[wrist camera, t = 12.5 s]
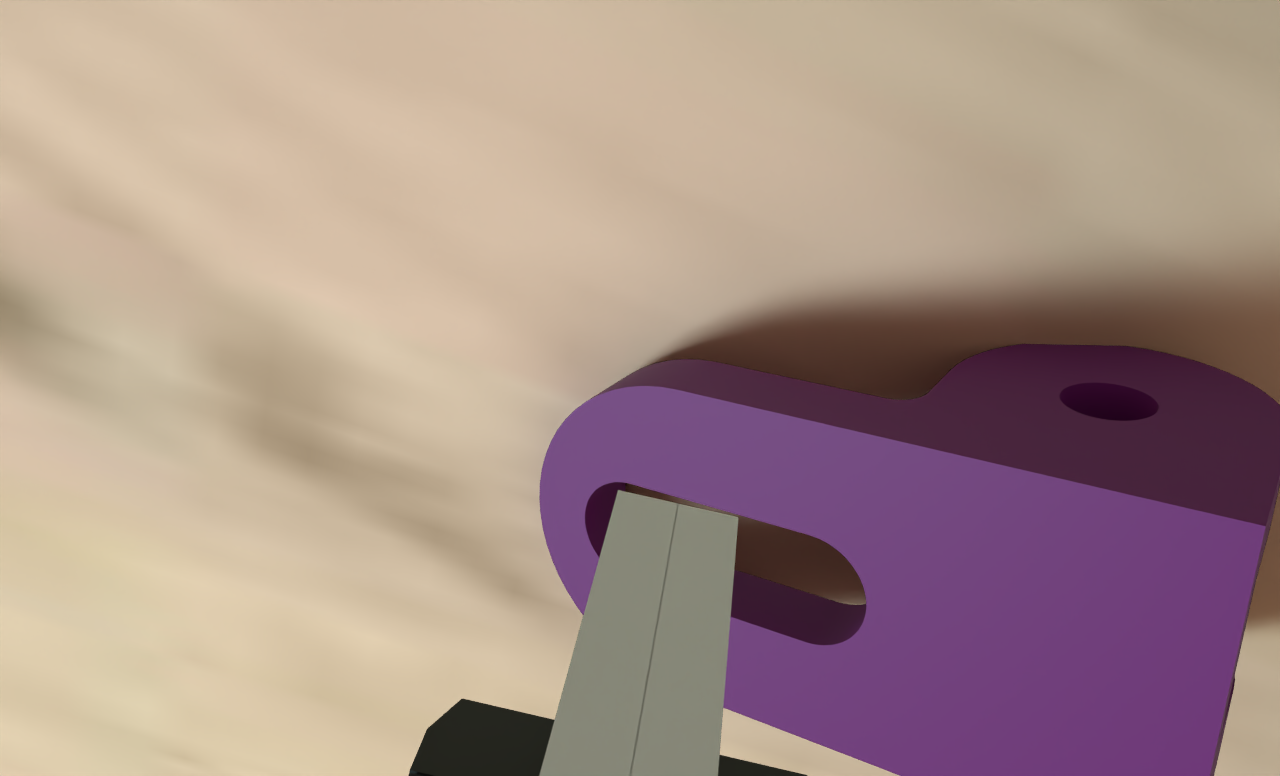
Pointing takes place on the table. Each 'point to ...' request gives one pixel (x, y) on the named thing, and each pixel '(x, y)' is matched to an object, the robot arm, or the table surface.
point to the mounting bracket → (964, 549)
